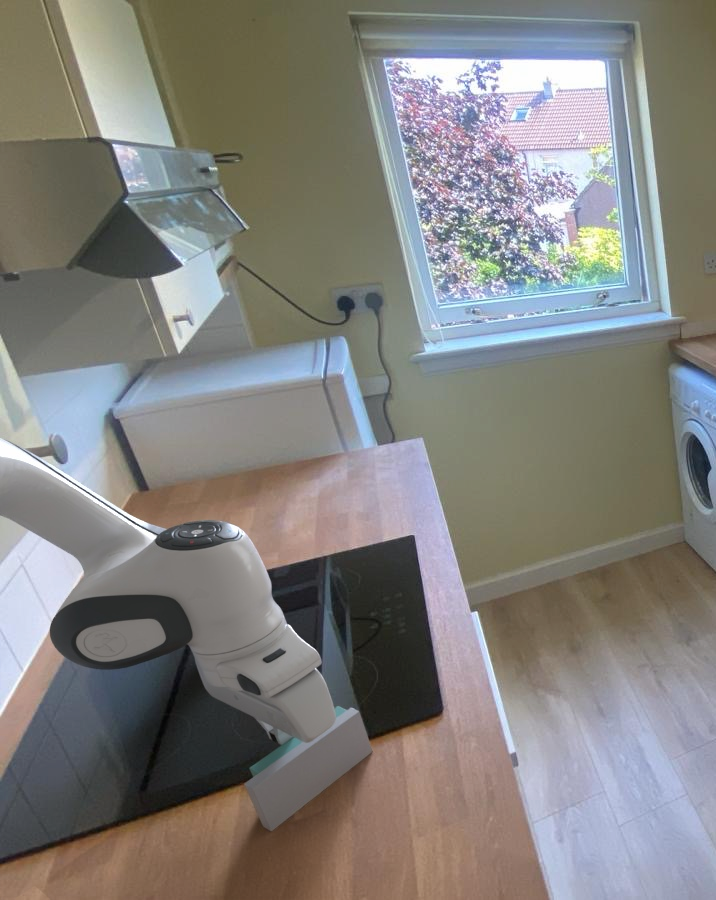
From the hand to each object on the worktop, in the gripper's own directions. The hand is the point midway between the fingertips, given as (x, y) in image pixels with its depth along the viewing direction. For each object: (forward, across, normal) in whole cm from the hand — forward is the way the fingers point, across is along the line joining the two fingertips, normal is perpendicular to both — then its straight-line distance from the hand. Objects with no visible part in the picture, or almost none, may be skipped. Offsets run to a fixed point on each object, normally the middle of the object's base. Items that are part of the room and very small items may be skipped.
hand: (283, 739), depth 90 cm
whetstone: (+6, +3, 0) cm, 7 cm away
